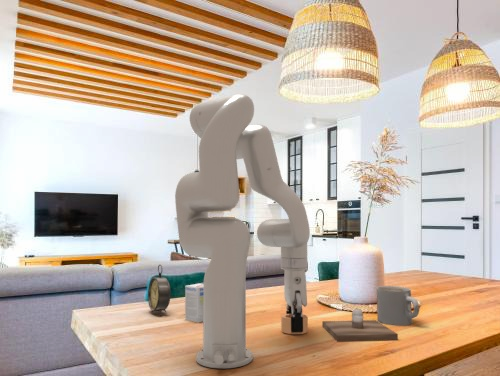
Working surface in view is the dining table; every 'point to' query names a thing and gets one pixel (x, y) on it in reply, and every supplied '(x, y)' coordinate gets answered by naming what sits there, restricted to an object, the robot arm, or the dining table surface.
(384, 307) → the coffee mug
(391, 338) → the post base
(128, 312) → the dining table surface
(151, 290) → the alarm clock
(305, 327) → the ring
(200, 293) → the light bulb box
